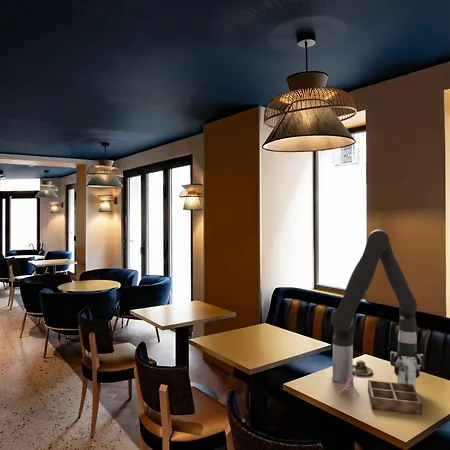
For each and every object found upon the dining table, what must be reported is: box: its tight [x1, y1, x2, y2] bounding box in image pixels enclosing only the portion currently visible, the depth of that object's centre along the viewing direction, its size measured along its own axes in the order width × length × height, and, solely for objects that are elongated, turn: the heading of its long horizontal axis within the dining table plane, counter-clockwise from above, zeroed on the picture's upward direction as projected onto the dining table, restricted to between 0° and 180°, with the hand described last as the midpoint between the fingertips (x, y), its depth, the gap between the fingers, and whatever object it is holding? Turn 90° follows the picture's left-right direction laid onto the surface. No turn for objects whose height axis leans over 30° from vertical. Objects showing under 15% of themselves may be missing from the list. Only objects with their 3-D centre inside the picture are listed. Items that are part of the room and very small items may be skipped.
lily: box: [338, 373, 360, 397], centre depth 173 cm, size 12×12×10 cm
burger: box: [353, 359, 374, 376], centre depth 198 cm, size 12×12×8 cm
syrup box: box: [396, 356, 418, 389], centre depth 178 cm, size 6×6×14 cm
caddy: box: [367, 379, 423, 416], centre depth 166 cm, size 18×18×5 cm
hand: (406, 376), depth 178 cm, fingers closed on syrup box, 7 cm apart
